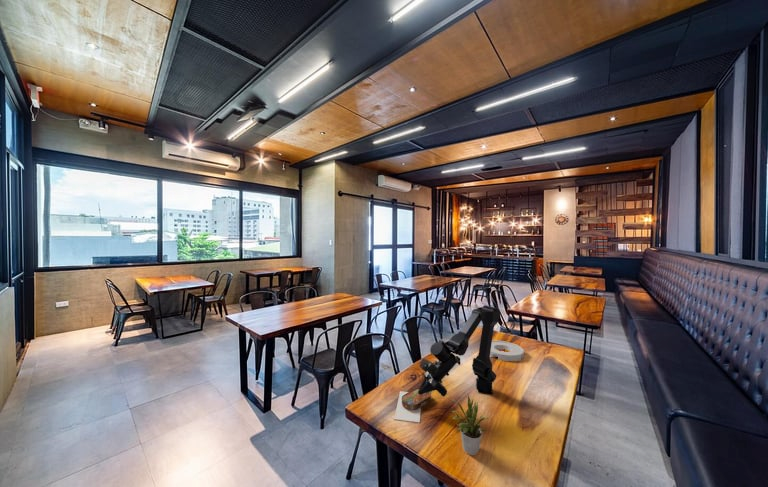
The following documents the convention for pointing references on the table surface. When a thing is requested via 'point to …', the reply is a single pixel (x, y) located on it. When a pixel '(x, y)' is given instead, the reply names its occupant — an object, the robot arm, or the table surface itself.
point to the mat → (406, 412)
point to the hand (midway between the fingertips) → (418, 393)
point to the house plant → (470, 428)
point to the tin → (415, 399)
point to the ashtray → (513, 355)
